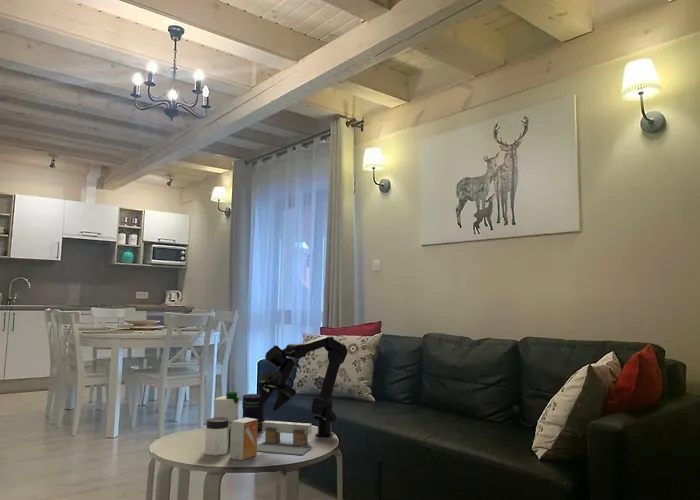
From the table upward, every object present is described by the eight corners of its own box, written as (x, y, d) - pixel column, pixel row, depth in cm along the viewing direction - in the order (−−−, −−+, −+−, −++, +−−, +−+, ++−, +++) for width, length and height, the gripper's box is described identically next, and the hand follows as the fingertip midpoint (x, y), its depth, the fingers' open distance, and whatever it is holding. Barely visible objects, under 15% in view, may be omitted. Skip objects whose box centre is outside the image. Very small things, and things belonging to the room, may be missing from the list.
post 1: (271, 438, 218) (271, 425, 218) (280, 439, 217) (280, 425, 217) (265, 442, 212) (265, 428, 213) (274, 443, 211) (274, 429, 212)
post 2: (298, 441, 215) (298, 427, 215) (307, 441, 214) (307, 427, 214) (292, 444, 209) (293, 430, 210) (302, 445, 208) (302, 431, 209)
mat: (253, 444, 209) (253, 443, 209) (310, 449, 202) (310, 448, 202) (242, 450, 200) (242, 449, 200) (302, 455, 194) (302, 454, 194)
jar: (208, 457, 191) (209, 422, 192) (201, 451, 198) (202, 418, 199) (232, 453, 196) (233, 420, 197) (224, 448, 203) (225, 416, 204)
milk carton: (231, 447, 204) (232, 394, 206) (209, 446, 206) (211, 393, 208) (240, 442, 212) (241, 391, 215) (219, 440, 214) (221, 390, 217)
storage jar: (248, 427, 239) (249, 393, 241) (268, 428, 236) (268, 394, 238) (237, 431, 230) (238, 396, 232) (256, 433, 227) (257, 398, 228)
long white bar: (265, 429, 218) (265, 420, 218) (311, 432, 212) (311, 423, 213) (262, 431, 214) (262, 422, 215) (308, 434, 209) (308, 425, 209)
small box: (242, 460, 187) (244, 422, 188) (229, 458, 190) (230, 420, 191) (257, 455, 194) (258, 418, 195) (243, 452, 197) (244, 417, 198)
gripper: (256, 361, 214) (238, 396, 207) (285, 364, 201) (267, 402, 194) (275, 374, 220) (257, 409, 213) (304, 378, 207) (286, 415, 200)
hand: (266, 408), depth 205 cm, fingers open, 9 cm apart
